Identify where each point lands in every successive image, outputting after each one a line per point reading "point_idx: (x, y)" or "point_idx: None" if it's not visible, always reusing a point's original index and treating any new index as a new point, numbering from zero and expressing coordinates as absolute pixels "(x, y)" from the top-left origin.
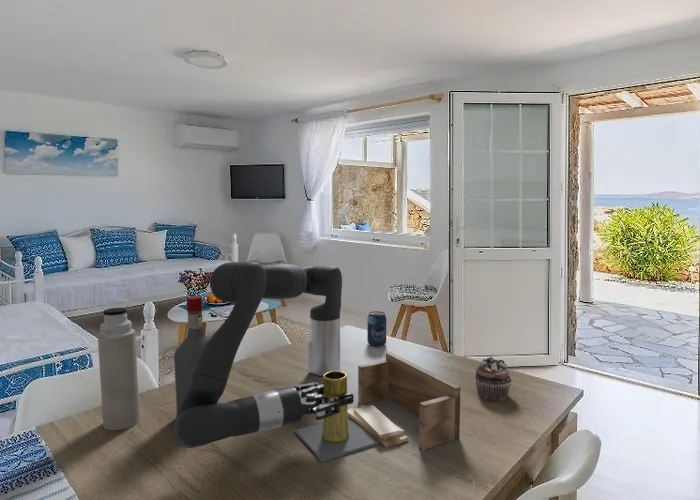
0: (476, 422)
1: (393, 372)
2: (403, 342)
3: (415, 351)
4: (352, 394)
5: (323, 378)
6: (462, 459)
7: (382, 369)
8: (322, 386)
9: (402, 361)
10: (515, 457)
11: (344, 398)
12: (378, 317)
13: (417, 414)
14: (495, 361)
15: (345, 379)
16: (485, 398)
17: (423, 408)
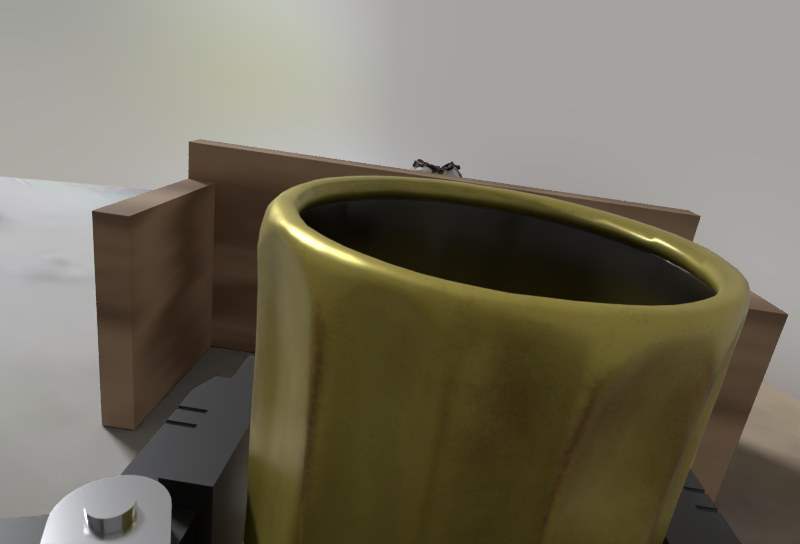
0: None
1: (251, 228)
2: (9, 178)
3: (82, 195)
4: None
5: (445, 350)
6: (795, 474)
7: (198, 222)
8: (164, 516)
9: (328, 162)
10: (776, 389)
11: (718, 531)
12: None
13: None
14: (451, 165)
15: (617, 260)
16: None
17: (775, 330)
